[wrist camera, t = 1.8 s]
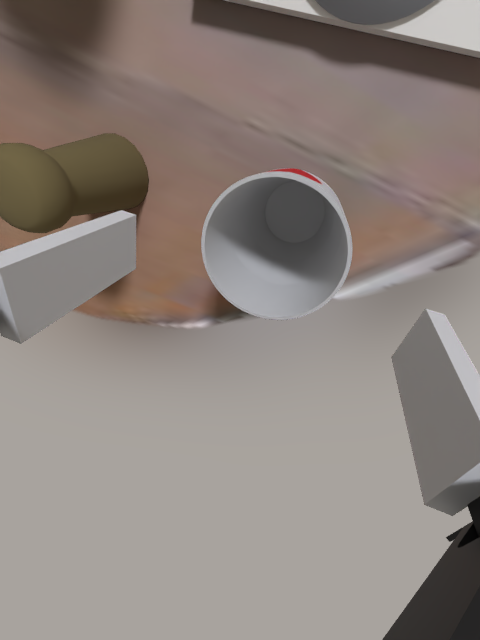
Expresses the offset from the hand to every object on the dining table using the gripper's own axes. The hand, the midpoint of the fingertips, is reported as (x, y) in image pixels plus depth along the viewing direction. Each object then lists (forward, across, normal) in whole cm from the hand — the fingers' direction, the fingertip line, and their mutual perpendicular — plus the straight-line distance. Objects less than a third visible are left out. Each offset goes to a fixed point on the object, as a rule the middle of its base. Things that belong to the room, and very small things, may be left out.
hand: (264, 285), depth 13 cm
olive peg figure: (+13, -16, -1) cm, 21 cm away
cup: (+13, 0, 0) cm, 13 cm away
